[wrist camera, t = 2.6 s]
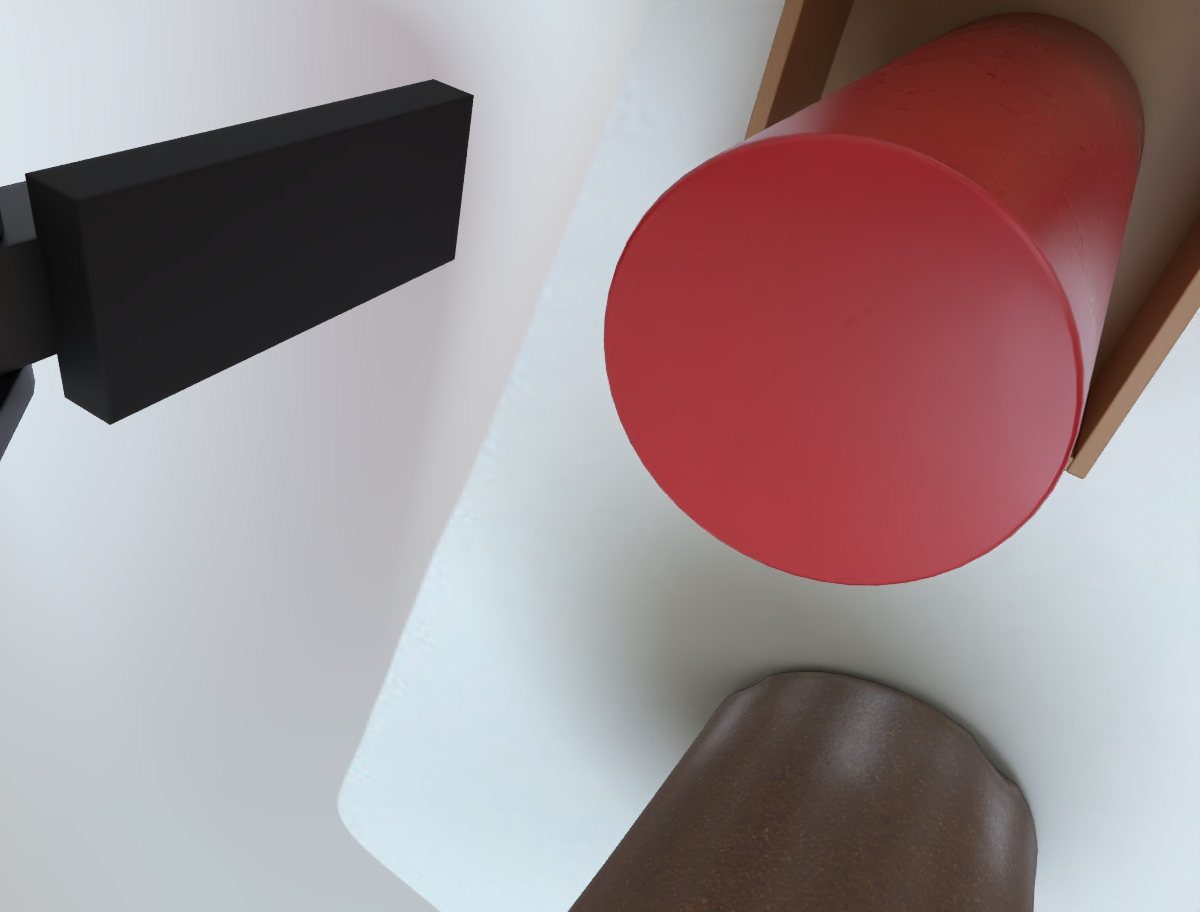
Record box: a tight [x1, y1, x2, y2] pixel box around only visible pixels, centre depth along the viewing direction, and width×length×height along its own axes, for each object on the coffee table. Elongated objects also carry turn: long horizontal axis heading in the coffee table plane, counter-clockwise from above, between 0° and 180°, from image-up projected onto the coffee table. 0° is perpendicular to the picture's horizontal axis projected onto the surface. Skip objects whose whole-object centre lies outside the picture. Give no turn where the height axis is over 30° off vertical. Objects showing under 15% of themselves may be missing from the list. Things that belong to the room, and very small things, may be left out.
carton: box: [745, 0, 1200, 479], centre depth 21 cm, size 10×10×4 cm
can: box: [604, 13, 1145, 585], centre depth 17 cm, size 6×6×14 cm
